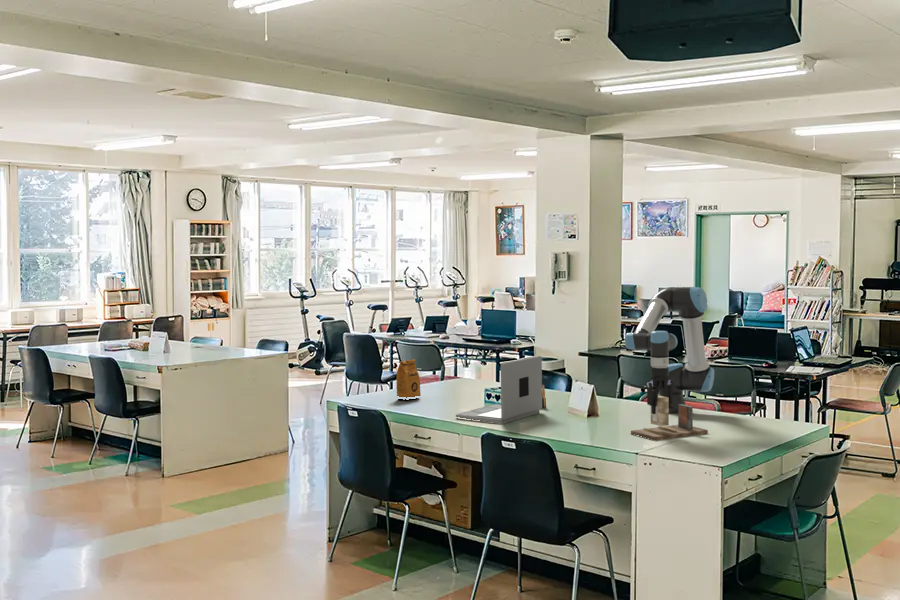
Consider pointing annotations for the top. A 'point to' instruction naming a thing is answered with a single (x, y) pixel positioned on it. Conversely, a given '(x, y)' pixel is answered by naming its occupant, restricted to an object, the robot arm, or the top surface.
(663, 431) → the rail
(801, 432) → the top surface
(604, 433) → the top surface
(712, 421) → the top surface
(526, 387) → the laptop
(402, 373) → the coffee package
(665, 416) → the maple finger
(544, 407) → the ammunition clip
